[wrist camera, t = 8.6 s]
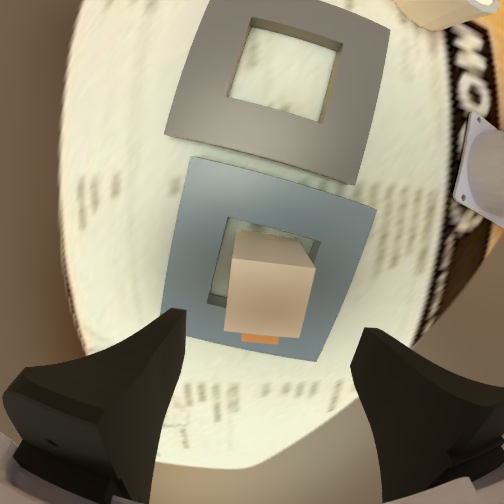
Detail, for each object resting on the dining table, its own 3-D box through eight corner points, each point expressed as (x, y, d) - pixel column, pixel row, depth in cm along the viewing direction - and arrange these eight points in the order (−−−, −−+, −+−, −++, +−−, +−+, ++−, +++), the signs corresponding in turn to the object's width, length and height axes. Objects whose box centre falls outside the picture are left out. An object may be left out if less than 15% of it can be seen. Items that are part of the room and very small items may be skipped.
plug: (295, 237, 19) (315, 268, 14) (283, 301, 21) (296, 350, 15) (236, 229, 19) (232, 258, 14) (228, 294, 21) (222, 343, 15)
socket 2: (368, 206, 19) (376, 209, 17) (312, 350, 22) (316, 361, 21) (195, 156, 18) (191, 156, 16) (163, 317, 21) (158, 328, 20)
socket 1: (381, 36, 15) (390, 29, 14) (346, 183, 18) (354, 185, 17) (221, -11, 14) (219, -22, 12) (170, 136, 17) (163, 133, 16)
